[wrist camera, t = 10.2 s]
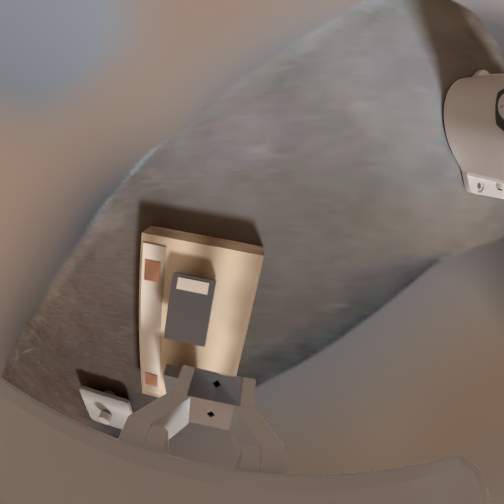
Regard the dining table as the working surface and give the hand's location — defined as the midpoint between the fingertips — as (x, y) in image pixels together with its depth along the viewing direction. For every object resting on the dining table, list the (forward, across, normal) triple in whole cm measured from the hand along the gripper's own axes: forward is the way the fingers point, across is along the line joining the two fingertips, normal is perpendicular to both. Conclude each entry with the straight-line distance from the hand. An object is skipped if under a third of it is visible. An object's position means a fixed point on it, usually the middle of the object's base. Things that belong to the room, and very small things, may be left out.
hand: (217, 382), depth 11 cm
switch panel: (+21, +5, +14) cm, 26 cm away
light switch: (+20, +19, +36) cm, 45 cm away
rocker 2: (+16, +4, +8) cm, 19 cm away
